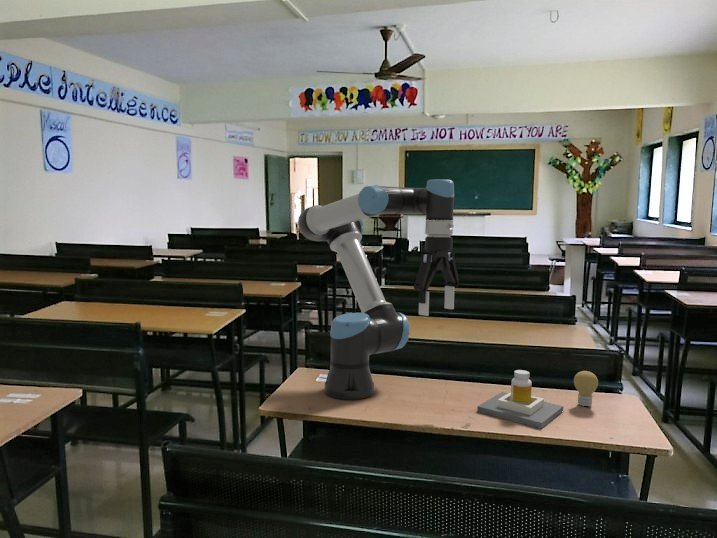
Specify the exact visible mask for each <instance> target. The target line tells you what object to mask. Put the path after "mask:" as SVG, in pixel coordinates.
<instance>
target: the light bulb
mask: <svg viewBox="0 0 717 538" xmlns="http://www.w3.org/2000/svg"><path fill="white" fill-rule="evenodd" d="M573 383H574V387H575V389H576V390H577V392H578V395H577V396H578V397H577V405H579V404H580V405H579V406H581V405H582V406H581V407H584V406H589V407H591V406H592V405H593V395H592V394H593V393H594V392H595V391H596V390H597V389H598V386H599V379H598V378H597V376H596V374H594V373H593V372H591V371H590V370H589V371H588V370H582V371H579V372H577V373H575V375H574V378H573Z"/></svg>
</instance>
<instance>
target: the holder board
mask: <svg viewBox="0 0 717 538" xmlns="http://www.w3.org/2000/svg"><path fill="white" fill-rule="evenodd" d="M476 408H477V409H476V411H478V413H480V414H481V413H482V414H485V415H489V416H492V417H493V416H494V417H496V418H501V419H505V420H508V421H511V422H515V423H518V424H522V425H527V426H529V427H535V428H538V429H541V430H542V429H543V428H544V427H546V426H547V425H548V424H549V423H550V422H552V421H553V420H554V419H556V418H557V417H558V416H559V415H561V414H562V413H563V412H564V405H560V404H555V403H551V402H547V401H545V398H544V397H543V398H542V397H537V396H534V395H531V404H530V405H524V404H520V403H516V402H512V401H511V391H510V392H504V391H501V392H500V393H498V394H496V395H495V396H493V397H491V398H489V399H487V400H486V401H484V402H482V403H480V404H479V405H477V407H476ZM562 411H563V412H562ZM561 412H562V413H561ZM560 413H561V414H560ZM555 417H556V418H555Z"/></svg>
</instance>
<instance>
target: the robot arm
mask: <svg viewBox="0 0 717 538" xmlns="http://www.w3.org/2000/svg"><path fill="white" fill-rule="evenodd" d="M455 197H456V196H455V184H454V181H453V180H452V179H439V178H438V179H436V178H435V179H428V180H427V181H426V186H425V187H401V186H386V185H385V186H384V185H378V184H375V185H366V186H364V187H363V188H362V189H361V190H360V191H359V193H357V194H354V195H351V196H348V197H345V198H341V199H340V200H336V201H334V202H331V203H328V204H326V205H321V204H320V205H318V204H317V205H316V204H315V205H312V206H310V207H307V208H305V209H304V210H303V211H302V212H301V213H300V215H299V216H298V219H297V225H298V228H299V229H298V230H299V232H300V233H301V235H303V237H305V238H306V239H308V240H310V241H313V242H314V241H315V242H327V244H328V245H329V248H330V250H331V251H332V252H335V253H337V256H338V258H339V261H340V263H341V265H342V268H343V270H344V272H345V275H346V277H347V279H348V282H349V285H350V288H351V289H352V292H353V294H354V296H355V299H356V302H357V303H358V304H357V305H358V307H359V309H360V311H361V312H353V313H352V312H349V313H344V314H339V315H337V316H335V317H334V318H333V320H332V321H331V324H330V333H329V336H330V367H329V370H328V374H327V376H326V379H325V382H324V393H325V395H327V396H328V397H330V398H332V399H333V398H334V399H338V400H348V401H350V400H355V401H356V400H362V399H363V400H364V399H366V398H367V399H368V398H370V397H371V396H373V395H374V394H375V383H374V380H373V377H372V373H371V370H370V356H371V355H375V354H376V355H377V354H383V353H388V352H394V351H396V350H399V349H403V347H405V346H406V344H407V342H408V341H409V337H410V334H411V331H410V330H411V327H410V323H409V320H408V318H407V316H406V315H405V314H404V313H402V312H399V311H397V312H396V309H395V307H394V305H393V303H391V302H388V301H386V299H385V297H384V294H383V292H382V289H381V286H380V285H379V283H378V280H377V278H376V276H375V273H374V272H373V269H372V266H371V264H370V262H369V259H368V257H367V255H366V253H365V250H364V248H363V246H362V244H361V241H362V239H363V233H364V227H363V226H364V220H366V219H369V218H372V217H377V216H380V215H386V214H387V215H389V214H391V215H409V216H410V215H425V228H424V234H425V235H427V236H425V237H424V238H425V240H424V241H425V243H424V248H425V250H426V251H428V254H424V253H423V254H421V258H420V264H419V268H418V271H417V274H416V275H417V276H416V278H415V281H414V284H413V289H414V290H415V292H416V291H417V292H418V315H419V316H426V317H428V316H429V315H430V312H429V311H430V310H429V309H430V291H428V290H429V288H430V285H431V283H432V281H433V279H434V276H435V274H436V273H437V272H438V271H440V272H441V275H442V277H443V279H444V282H445V284H446V285H444V306H443V308H444V309H447V310H454V309H455V287H456V288H457V287H459V283H460V278H459V274H458V268H457V266H456V265H457V264H456V260H455V259H456V258H455V257H456V256H455V252H450V251H452V250H453V243H454V241H453V237H452V235H453V234H454V207H455V206H454V204H455Z"/></svg>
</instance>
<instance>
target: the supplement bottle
mask: <svg viewBox="0 0 717 538" xmlns="http://www.w3.org/2000/svg"><path fill="white" fill-rule="evenodd" d="M513 372H514V375H513V376H514V377H513V378H512V379H511V385H510V392H511V401H512V402H516V403H520V404H524V405H530V404H531V396H532V383H533V382H532V380H531V379H529V378H530V374H531V373H530V372H529V371H527V370H522V369H516V370H514V371H513Z"/></svg>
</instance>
